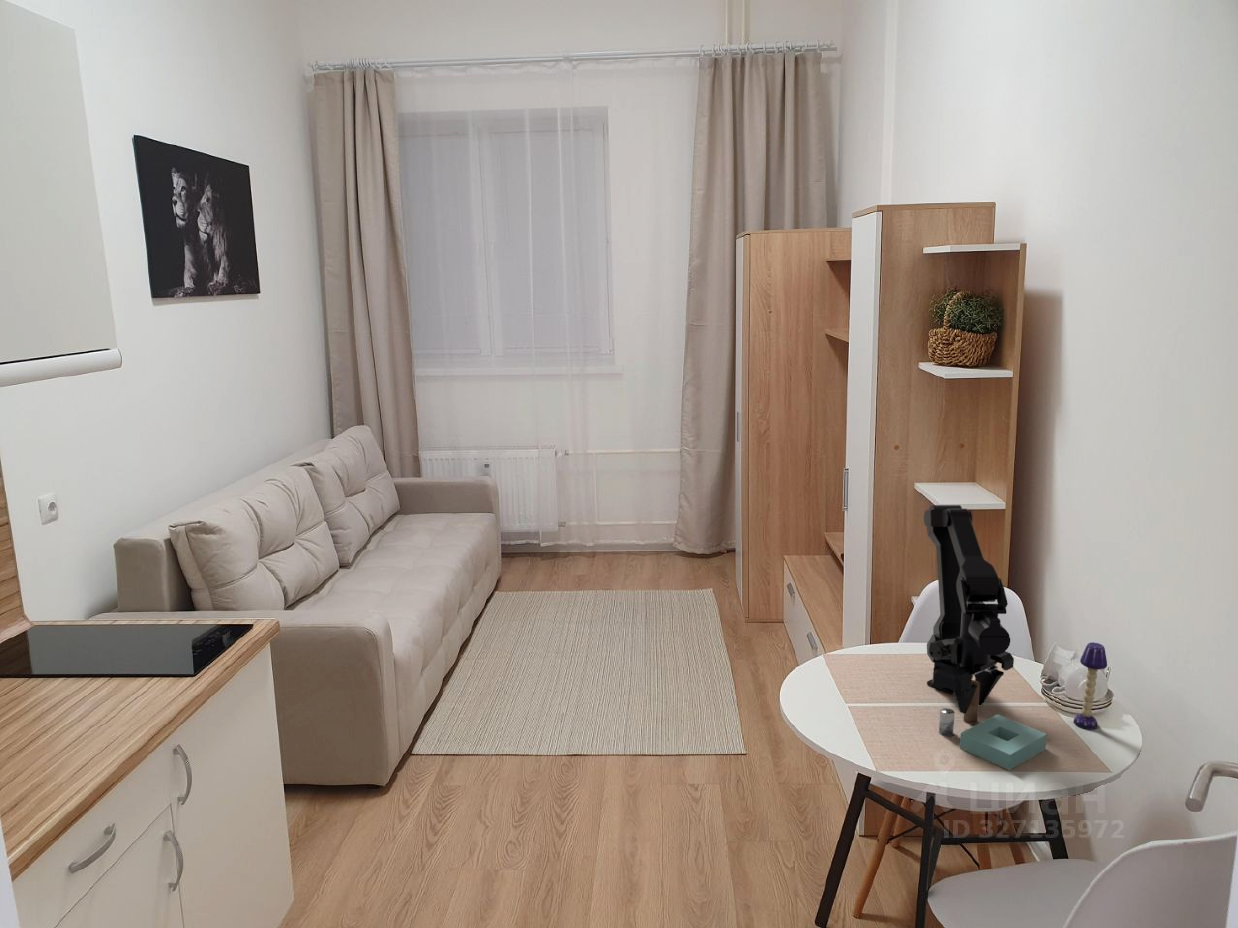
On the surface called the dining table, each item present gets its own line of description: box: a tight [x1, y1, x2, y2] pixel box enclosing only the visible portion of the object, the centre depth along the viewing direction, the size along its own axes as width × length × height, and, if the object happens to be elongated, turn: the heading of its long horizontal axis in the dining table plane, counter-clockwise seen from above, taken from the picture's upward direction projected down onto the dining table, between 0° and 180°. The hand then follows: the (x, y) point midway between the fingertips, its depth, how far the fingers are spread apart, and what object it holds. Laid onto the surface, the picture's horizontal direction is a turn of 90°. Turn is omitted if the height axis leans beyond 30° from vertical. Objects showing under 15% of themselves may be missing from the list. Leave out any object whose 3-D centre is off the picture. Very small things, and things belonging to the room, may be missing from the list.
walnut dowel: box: [963, 679, 980, 725], centre depth 184 cm, size 3×3×8 cm
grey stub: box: [938, 707, 955, 737], centre depth 180 cm, size 3×3×4 cm
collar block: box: [959, 714, 1048, 771], centre depth 174 cm, size 12×10×3 cm
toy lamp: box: [1073, 641, 1108, 730], centre depth 181 cm, size 5×5×17 cm
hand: (971, 708), depth 185 cm, fingers open, 5 cm apart
